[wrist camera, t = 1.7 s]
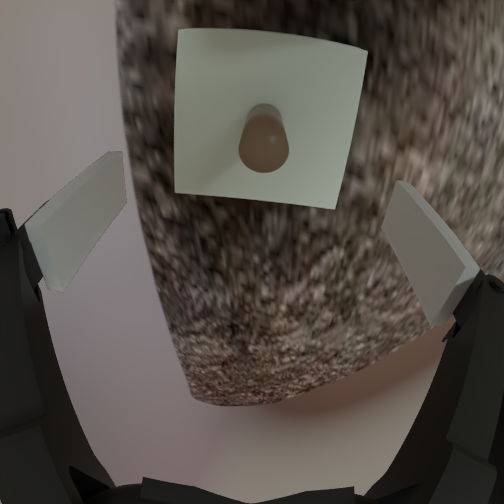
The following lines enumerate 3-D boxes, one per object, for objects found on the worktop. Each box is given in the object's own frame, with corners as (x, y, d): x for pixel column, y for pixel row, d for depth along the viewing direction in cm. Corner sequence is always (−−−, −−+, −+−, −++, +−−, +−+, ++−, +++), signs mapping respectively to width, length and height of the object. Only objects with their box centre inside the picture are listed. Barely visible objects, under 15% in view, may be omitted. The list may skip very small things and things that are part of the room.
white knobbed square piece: (355, 51, 23) (414, 52, 13) (327, 192, 33) (355, 266, 22) (189, 32, 23) (137, 19, 12) (184, 177, 32) (145, 245, 22)
